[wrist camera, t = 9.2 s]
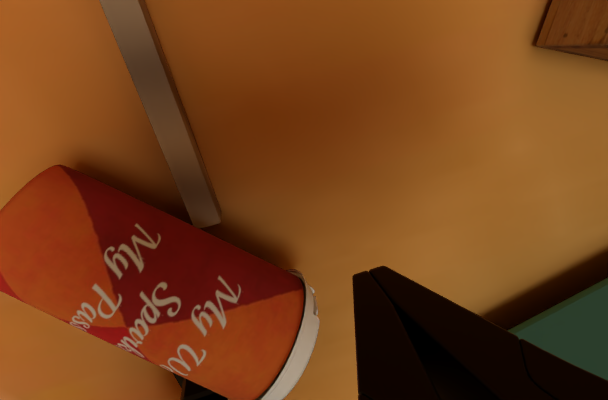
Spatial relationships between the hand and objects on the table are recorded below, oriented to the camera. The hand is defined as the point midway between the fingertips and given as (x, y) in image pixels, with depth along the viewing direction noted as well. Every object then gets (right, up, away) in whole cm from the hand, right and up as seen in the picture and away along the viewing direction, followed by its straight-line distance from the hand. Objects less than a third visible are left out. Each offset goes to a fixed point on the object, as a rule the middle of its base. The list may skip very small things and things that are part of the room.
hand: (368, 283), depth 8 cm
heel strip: (-9, +8, +9) cm, 15 cm away
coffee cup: (-15, +1, +7) cm, 17 cm away
